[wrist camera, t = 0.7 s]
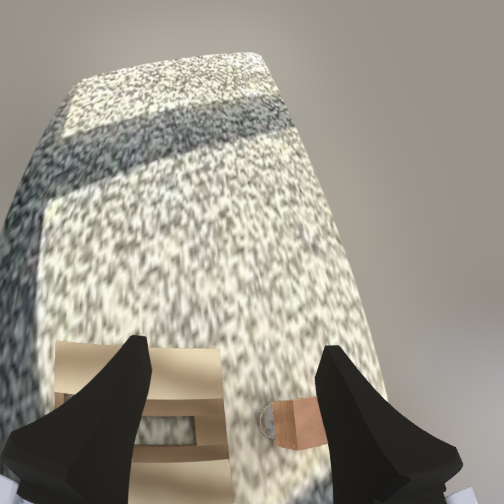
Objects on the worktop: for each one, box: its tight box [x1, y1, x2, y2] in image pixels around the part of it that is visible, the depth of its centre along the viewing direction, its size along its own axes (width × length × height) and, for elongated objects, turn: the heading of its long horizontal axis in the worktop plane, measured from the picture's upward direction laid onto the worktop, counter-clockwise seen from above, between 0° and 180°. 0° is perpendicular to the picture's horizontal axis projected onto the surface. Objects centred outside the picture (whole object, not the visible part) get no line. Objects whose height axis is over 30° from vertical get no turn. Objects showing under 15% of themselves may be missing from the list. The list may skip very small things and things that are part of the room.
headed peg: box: [258, 396, 328, 450], centre depth 24 cm, size 4×4×8 cm
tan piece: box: [55, 341, 234, 504], centre depth 22 cm, size 14×14×3 cm
